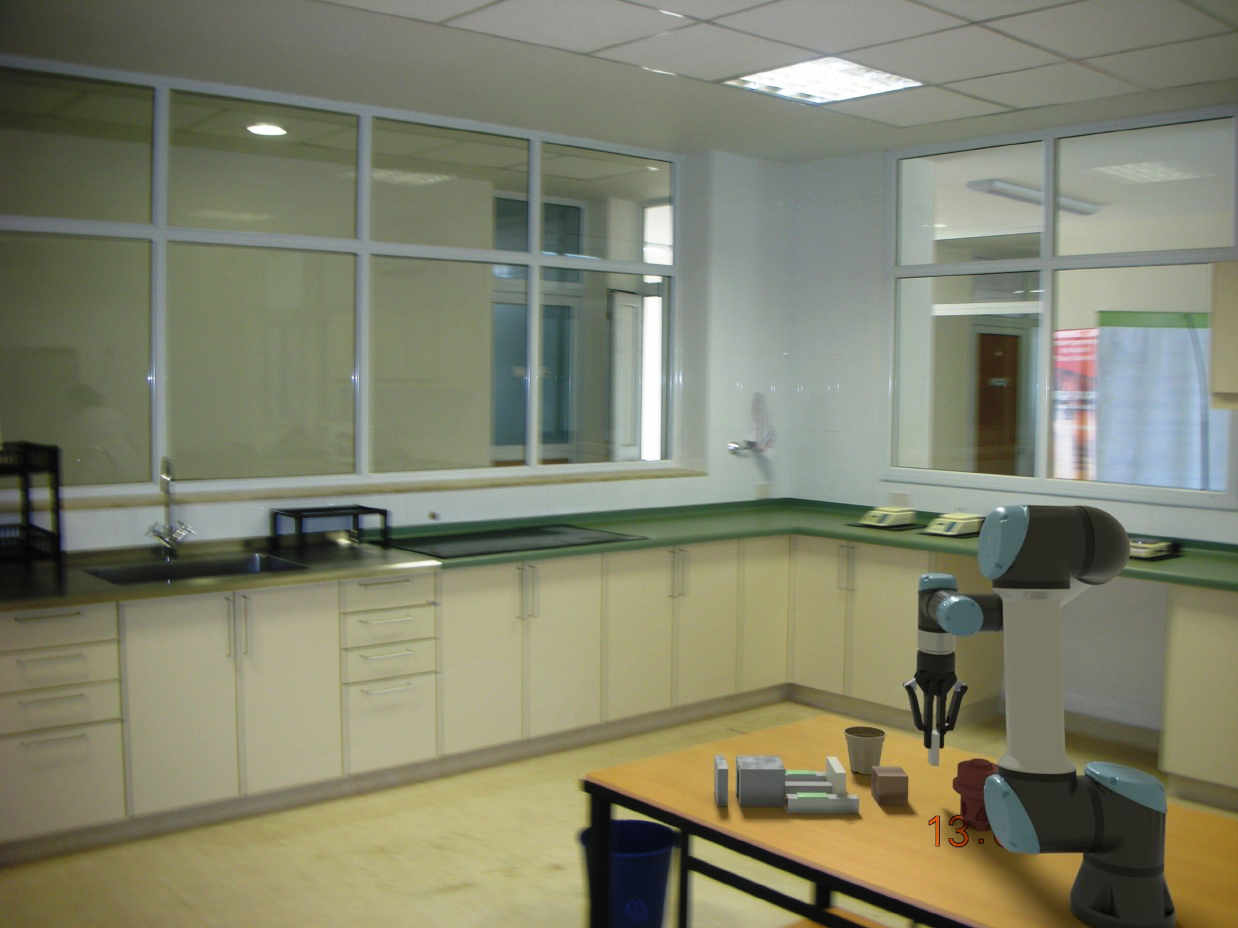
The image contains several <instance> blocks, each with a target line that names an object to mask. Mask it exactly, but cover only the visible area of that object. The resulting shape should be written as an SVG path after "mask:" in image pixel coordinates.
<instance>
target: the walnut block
mask: <svg viewBox="0 0 1238 928" xmlns="http://www.w3.org/2000/svg"><path fill="white" fill-rule="evenodd" d="M870 778H871V779H870V781H871V783H870V785H871V786H870V787H871V788H870V792H871V793H870V795H871V796H872V798H873V799H874V801H875V803H876V804H877V806H909V775H908V774H907V773H906V772H905V770H904V768H902V766H897V765H896V766H894V765H893V766H889V765H888V766H885V765H884V766H883V765H882V766H881V765H880V766H872V774H871V777H870Z"/></svg>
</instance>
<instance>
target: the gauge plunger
mask: <svg viewBox="0 0 1238 928" xmlns="http://www.w3.org/2000/svg"><path fill="white" fill-rule="evenodd" d="M825 764H826V766H825V767H826V768H825V770H826V771H825V772H826V782H786V781H785V798H786V794H796V793H827V794H847V772H846V770H845V769H844V767H843V765H842V764H841V762H840V761H839V759H838V758H837V756H826V763H825Z"/></svg>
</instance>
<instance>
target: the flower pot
mask: <svg viewBox="0 0 1238 928" xmlns="http://www.w3.org/2000/svg"><path fill="white" fill-rule="evenodd" d="M842 732H843V734H844V736H845V740H846V744H847V752H848V761H849V768H850V770H851V771H852V772H853V773H856V772H857V773H859V774H862V775H872V766H881V758H882V751H883V745H884V742H885V738H886V736H887V734H888V732H887V731H886V730H884V729H882V728H879V727H874V726H870V725H869V726H867V725H853V726H848V727H845V728H844V729H843V731H842Z"/></svg>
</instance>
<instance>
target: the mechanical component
mask: <svg viewBox="0 0 1238 928" xmlns="http://www.w3.org/2000/svg"><path fill="white" fill-rule="evenodd" d="M994 774H998V768H997V763H994V762H992V761H990V760H989V759H985V758H979V757H977V758H971V759H968V760H963V761H960V762H959V763H957V775H956V776H955V777H954V778H953V779H952V789H953V791H954V792H955V793H957V794H958V795H960V799H959V800H960V804H959V805H960V808H959V810H960V813H959V814H960V817H961V820H962V821H963V822H965V823H966V824H969V825H971V826H973V827H974V828H975V829H976V830H977V831H981V832H983V831H986V828H987V827H988V826H991V825H990V822H989V819H988V816H987V812H986V807H985V800H984V786H985V781H986V779H987V778H988V777H989V776H992V775H994Z"/></svg>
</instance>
